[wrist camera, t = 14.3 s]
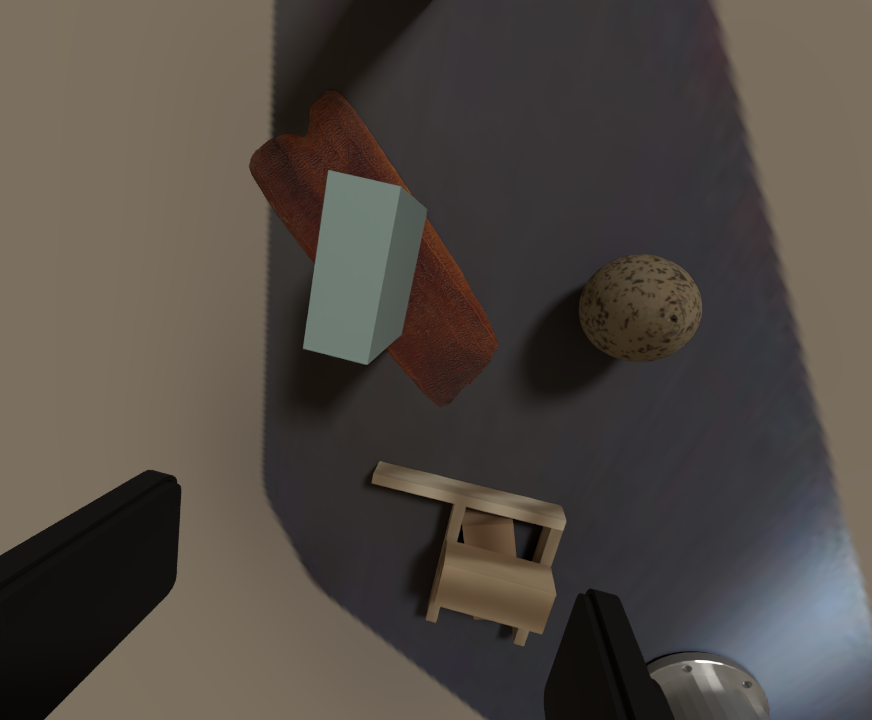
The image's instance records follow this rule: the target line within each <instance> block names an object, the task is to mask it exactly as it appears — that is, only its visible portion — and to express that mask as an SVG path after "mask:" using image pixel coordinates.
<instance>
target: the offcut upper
mask: <svg viewBox="0 0 872 720" xmlns="http://www.w3.org/2000/svg"><path fill="white" fill-rule="evenodd" d="M555 597H556V590H555V585H554V581H553V576H552V571H551V566H547V565H543V564H539V563H535V562H531V561H528V560H524V559H520V558H516V557H512V556H508V555H505V554H501V553H497V552H493V551H489V550H486V549H482V548H478V547H474V546H470V545H466V544H463V543H459V542H455V541H451V540H447V544H446V548H445V552H444V556H443V560H442V564H441V567H440V571H439V575H438V580H437V587H436V594H435V600H434V605H436V606H440V607H444V608H447V609H451V610H455V611H458V612H462V613H466V614H469V615H473V616H477V617H480V618H484V619H488V620H491V621H495V622H499V623H502V624H506V625H510V626H513V627H517V628H521V629H524V630H528V631H532V632H535V633H539V634H542V633H543V630H544V628H545V625H546V622H547V619H548V616H549V613H550V611H551V608H552V605H553V602H554V599H555Z"/></svg>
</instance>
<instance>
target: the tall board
mask: <svg viewBox="0 0 872 720" xmlns="http://www.w3.org/2000/svg"><path fill="white" fill-rule="evenodd" d="M426 214H427V209H426V208H425V207H424V206H423V205H422V204H421V203H419V202H418V201H417V200H416V199H415V198H414V197H413V196H411V195H410V194H409V193H408V192H407V191H406V190H405V189H403V188H402V187H401V186H397V185H392V184H388V183H384V182H379V181H375V180H370V179H366V178H362V177H357V176H353V175H348V174H344V173H340V172H335V171H331V170H328V176H327V183H326V190H325V197H324V204H323V211H322V218H321V225H320V232H319V239H318V246H317V253H316V261H315V268H314V275H313V282H312V289H311V296H310V303H309V310H308V317H307V324H306V331H305V338H304V345H303V349H307V350H311V351H315V352H319V353H323V354H326V355H330V356H334V357H338V358H342V359H346V360H350V361H354V362H358V363H362V364H366V365H368V364H369V363H370V362H371V361H372V360H373V359H375V358H376V357H377V356H378V355H379V354H380V353H381V352H383V351H384V350H385V349H386V348H387V347H388V346H389V345H390V344H392V343H393V342H394V341H395V340H396V339H397V338H398V337H399V336H401V335H402V330H403V325H404V320H405V316H406V311H407V306H408V301H409V296H410V291H411V287H412V282H413V277H414V272H415V267H416V263H417V258H418V253H419V248H420V243H421V239H422V234H423V229H424V224H425V219H426Z"/></svg>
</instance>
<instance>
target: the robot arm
mask: <svg viewBox="0 0 872 720" xmlns="http://www.w3.org/2000/svg"><path fill="white" fill-rule="evenodd" d="M180 504H181V486H180V485H179V484H177V479H176V478H175V477H174V476H173V475H169V474H165V473H161V472H158V471H154V470H147V471H145V472H143V473H141V474H139V475H137V476H136V477H134V478H132V479H130V480H129V481H127V482H125V483H124V484H122V485H120V486H118V487H117V488H115V489H113V490H112V491H110V492H108V493H106V494H105V495H103V496H101V497H100V498H98V499H96V500H94V501H93V502H91V503H89V504H88V505H86V506H84V507H82V508H81V509H79V510H78V511H76V512H74V513H72V514H70V515H69V516H67V517H65V518H64V519H62V520H60V521H58V522H57V523H55V524H53V525H52V526H50V527H48V528H46V529H45V530H43V531H41V532H40V533H38V534H36V535H35V536H33V537H31V538H29V539H28V540H26V541H24V542H23V543H21V544H19V545H17V546H16V547H14V548H12V549H11V550H9V551H7V552H5V553H4V554H2V555H0V720H44V719H45V718H46V717H47V716H48V715H49V714H50V713H51V712H52V711H53V710H54V709H55V708H56V707H57V706H58V705H59V704H60V703H61V702H62V701H63V700H64V699H65V698H66V697H67V696H68V695H69V694H70V693H71V692H72V691H73V690H74V689H75V688H76V687H77V686H78V685H79V684H80V683H81V682H82V681H83V680H84V679H85V678H86V677H87V676H88V675H89V674H90V673H91V672H92V670H94V669H95V667H97V665H99V664H100V662H101V661H103V660H104V659H105V658H106V657H107V656H108V654H110V653H111V651H113V649H114V648H115V647H116V646H117V645H118V644H119V643H120V642H121V641H122V640H123V639H124V638H125V637H126V636H127V635H128V634H129V633H130V632H131V631H132V630H133V629H134V628H135V627H136V626H137V625H138V624H139V623H140V622H141V621H142V620H143V619H144V618H145V617H146V616H147V615H148V614H149V613H150V612H151V611H152V610H153V609H154V608H155V607H156V606H157V605H158V604H159V603H160V602H161V601H162V600H163V599H164V598H165V597H166V596H167V595H168V594H169V592H170V591H171V589H172V588H173V585H174V583H175V581H176V574H177V558H178V540H179V522H180ZM544 710H545V718H546V720H770V718H769V710H770V709H769V704H768V699H767V697H766V695H765V693H764V691H763V689H762V688H761V686H760V685H759V683H758V682H757V680H756V679H755V677H754V676H753V675H752V674H751V673H750V672H749V671H748V670H747V669H746V668H744V667H743V666H741V665H739V664H738V663H736V662H734V661H732V660H730V659H727V658H725V657H722V656H718V655H714V654H710V653H701V652H685V653H679V654H673V655H669V656H666V657H663V658H660V659H658V660H656V661H654V662H652V663H651V664H649V665H647V666H646V664H645V661H644V659H643V656H642V654H641V651H640V649H639V646H638V643H637V641H636V638H635V636H634V633H633V631H632V628H631V626H630V623H629V621H628V618H627V616H626V613H625V611H624V608H623V606H622V603H621V601H620V599H619V597H618V596H616V595H613V594H609V593H606V592H602V591H598V590H594V589H588V590H587V592H586V594H581V593H580V594H578V596H577V598H576V601H575V603H574V606H573V609H572V612H571V615H570V618H569V620H568V623H567V626H566V629H565V632H564V635H563V637H562V640H561V643H560V646H559V649H558V652H557V654H556V657H555V660H554V663H553V666H552V669H551V671H550V674H549V677H548V680H547V683H546V686H545V691H544Z"/></svg>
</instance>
